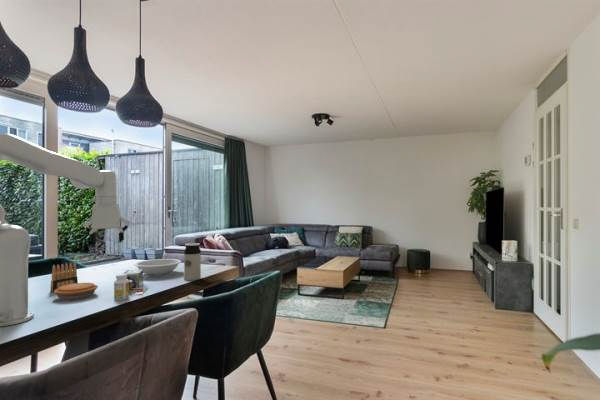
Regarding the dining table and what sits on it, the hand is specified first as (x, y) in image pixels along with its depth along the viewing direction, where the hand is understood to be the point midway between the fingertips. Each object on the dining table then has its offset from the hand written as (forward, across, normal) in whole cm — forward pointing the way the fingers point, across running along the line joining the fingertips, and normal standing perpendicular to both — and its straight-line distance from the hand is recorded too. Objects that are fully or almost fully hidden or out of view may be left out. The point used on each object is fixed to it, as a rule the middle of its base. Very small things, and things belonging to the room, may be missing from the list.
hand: (107, 242), depth 139 cm
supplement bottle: (+23, +5, -2) cm, 24 cm away
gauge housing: (+23, +7, +12) cm, 27 cm away
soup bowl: (+25, +13, +46) cm, 53 cm away
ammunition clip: (+23, -23, +22) cm, 39 cm away
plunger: (+23, +7, +10) cm, 26 cm away
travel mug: (+25, +32, +27) cm, 48 cm away
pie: (+23, -14, +6) cm, 28 cm away
